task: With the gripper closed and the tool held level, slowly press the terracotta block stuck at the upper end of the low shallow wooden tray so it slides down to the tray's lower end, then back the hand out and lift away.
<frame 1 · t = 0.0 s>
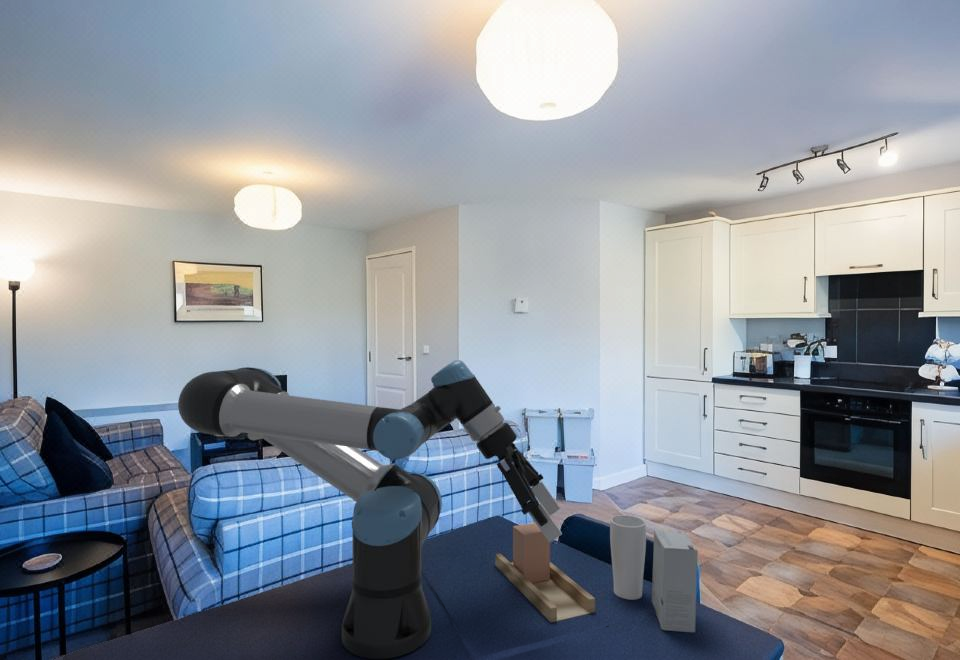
hand: (555, 524, 98), 15 cm above the table, tool tilted 35°, fingers open, 13 cm apart
skincare box: (673, 621, 92), on the table
terracotta block: (531, 552, 106), point 6 cm above the table, slide at 0.0 cm
shallow wooden tray: (540, 591, 103), on the table
drinking glass: (627, 598, 100), on the table
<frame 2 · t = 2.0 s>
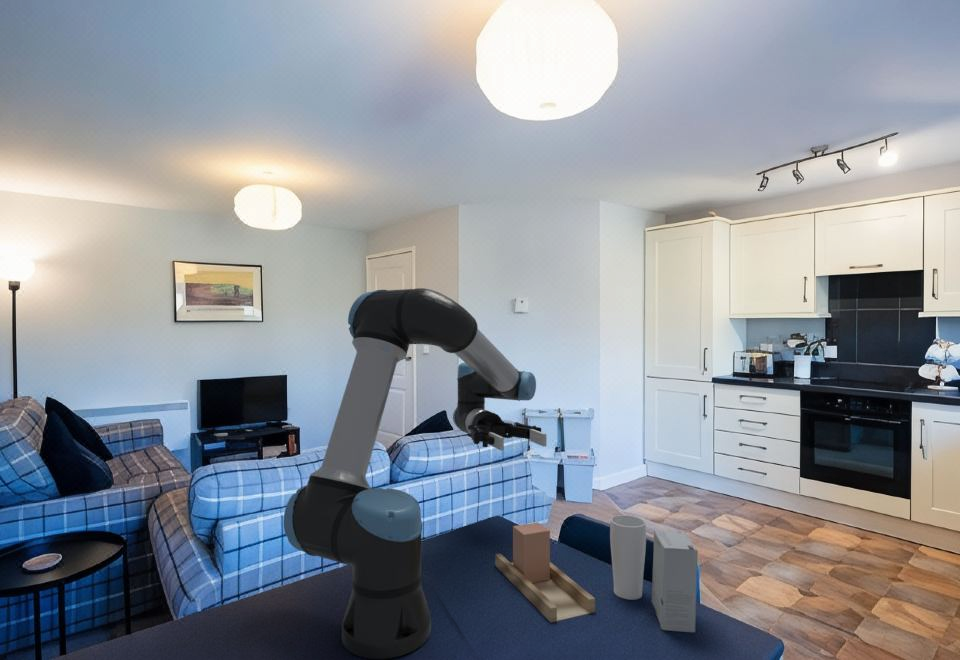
hand: (523, 442, 111), 28 cm above the table, tool horizontal, fingers open, 10 cm apart
nothing on the table moved.
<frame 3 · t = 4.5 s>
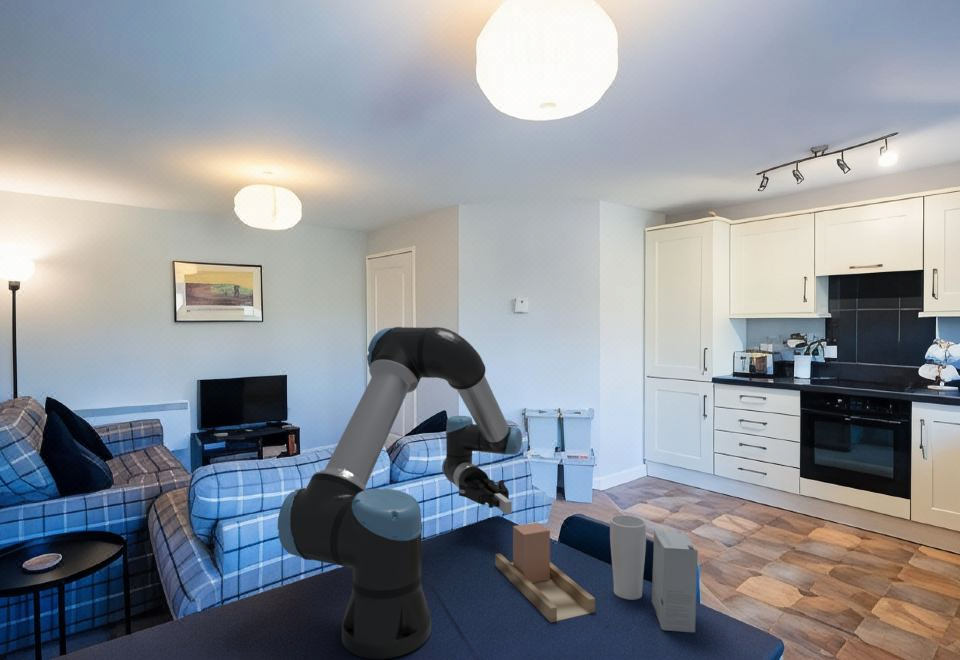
hand: (508, 507, 117), 12 cm above the table, tool horizontal, fingers closed
nothing on the table moved.
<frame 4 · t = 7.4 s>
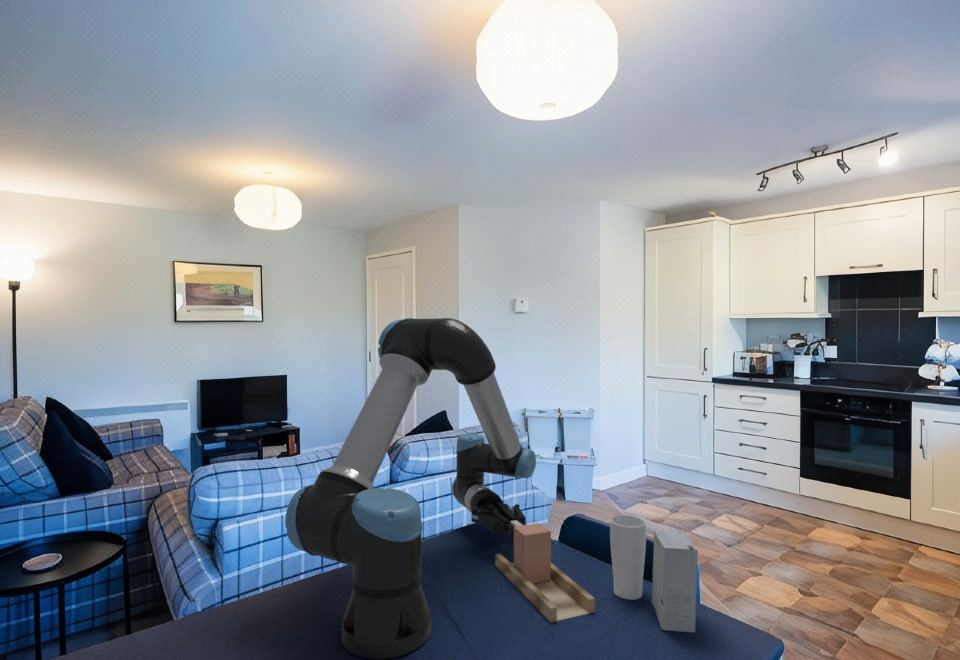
hand: (526, 537, 109), 8 cm above the table, tool horizontal, fingers closed
terracotta block: (532, 553, 106), point 6 cm above the table, slide at 0.4 cm
everything else where it was.
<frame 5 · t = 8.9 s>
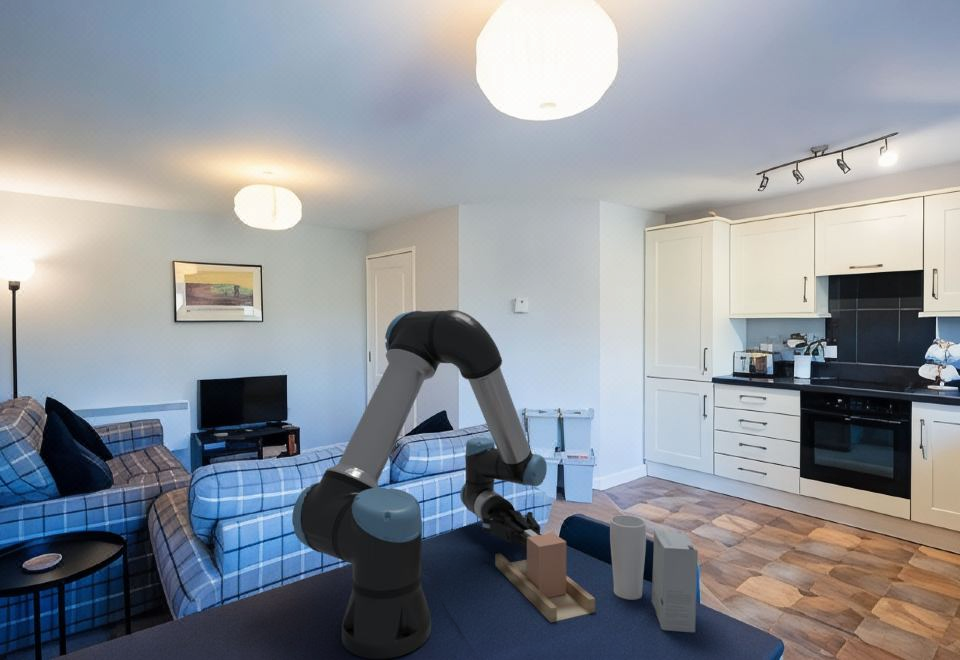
hand: (542, 547, 103), 8 cm above the table, tool horizontal, fingers closed
terracotta block: (546, 565, 100), point 6 cm above the table, slide at 6.3 cm, touching gripper
everything else where it was.
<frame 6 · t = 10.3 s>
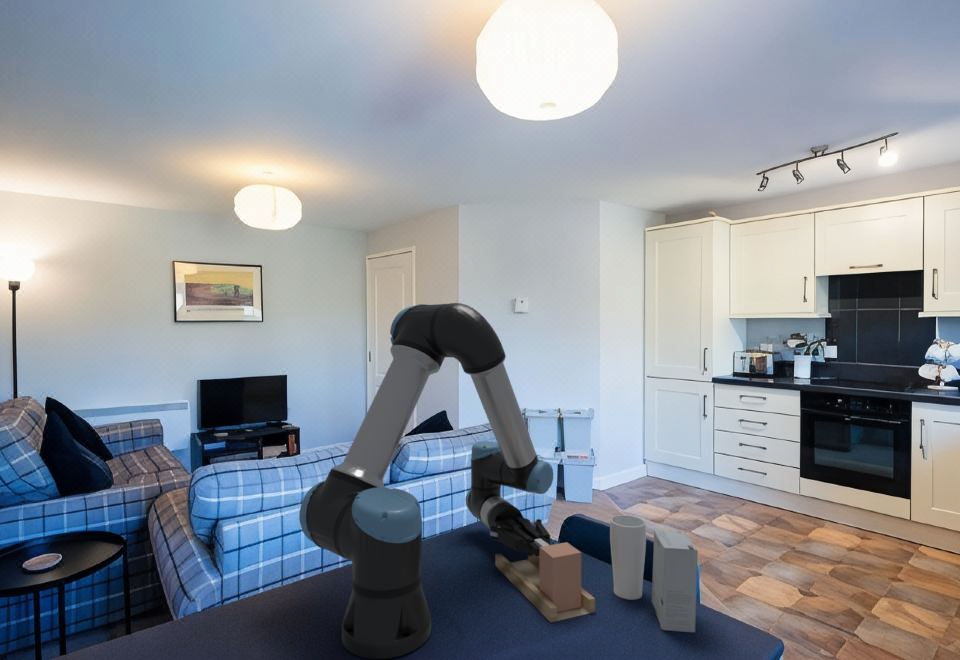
hand: (553, 558, 98), 8 cm above the table, tool horizontal, fingers closed
terracotta block: (560, 576, 96), point 6 cm above the table, slide at 11.5 cm, touching gripper
everything else where it was.
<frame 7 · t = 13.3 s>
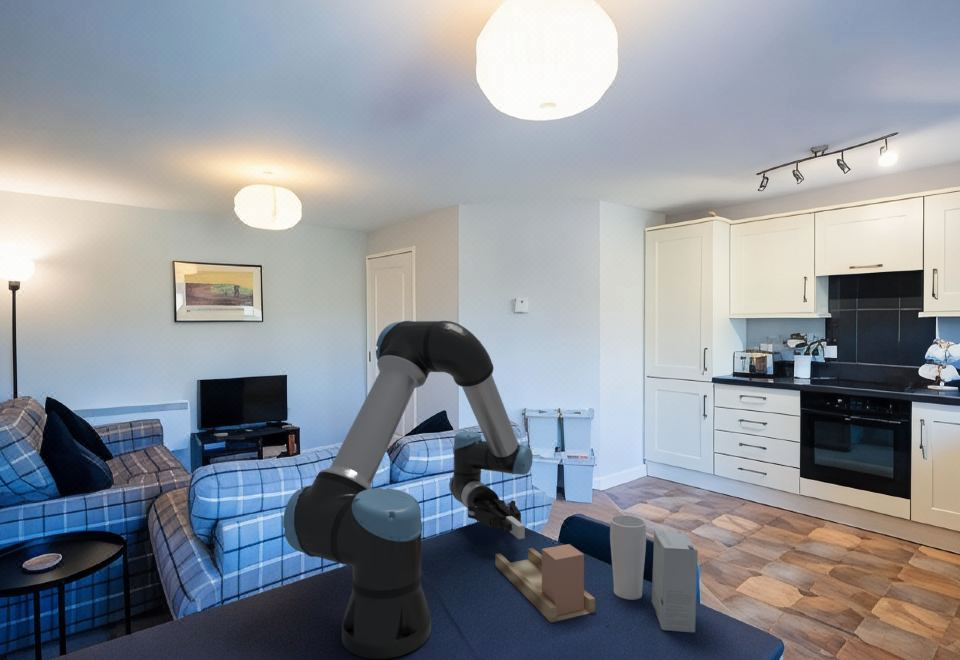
hand: (521, 532, 110), 9 cm above the table, tool horizontal, fingers closed
terracotta block: (562, 578, 95), point 6 cm above the table, slide at 12.4 cm
everything else where it was.
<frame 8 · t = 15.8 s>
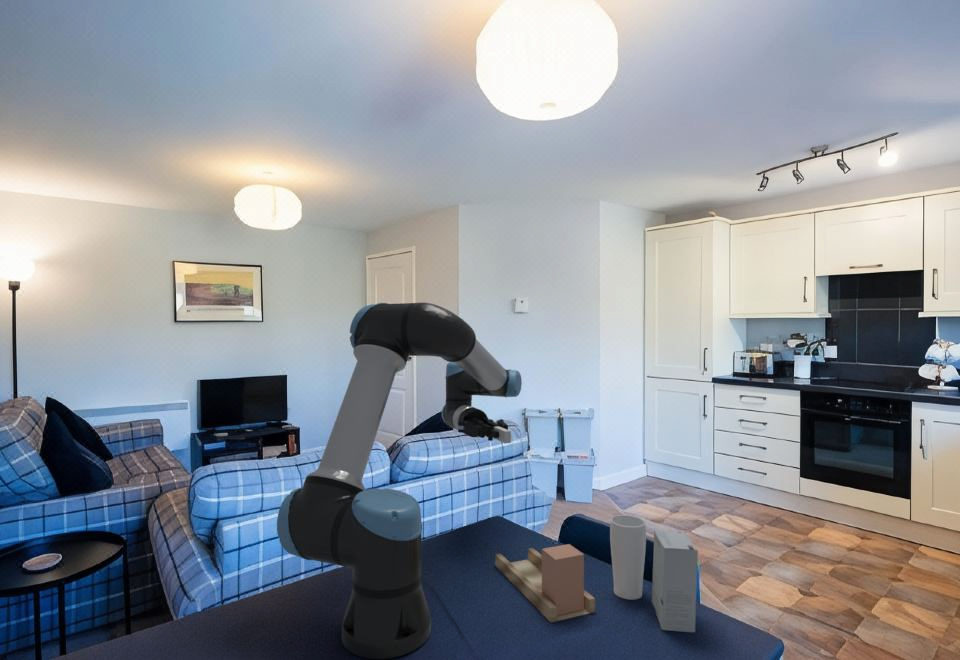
hand: (507, 437, 117), 28 cm above the table, tool horizontal, fingers closed
nothing on the table moved.
at the end: terracotta block slide at 12.4 cm; drinking glass moved 0.2 cm from its start; skincare box moved 0.2 cm from its start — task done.
